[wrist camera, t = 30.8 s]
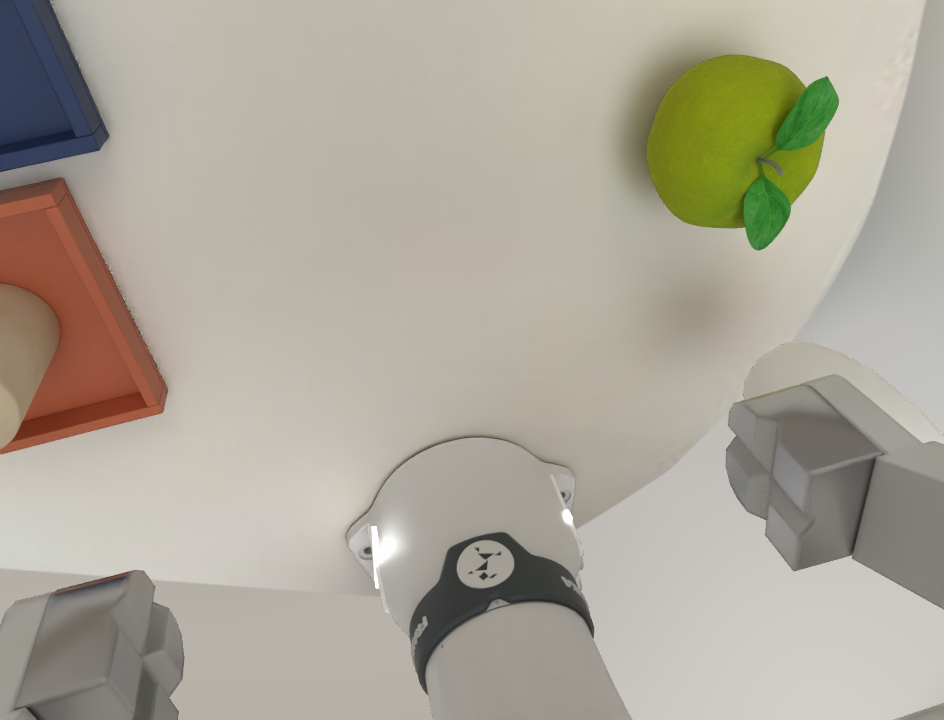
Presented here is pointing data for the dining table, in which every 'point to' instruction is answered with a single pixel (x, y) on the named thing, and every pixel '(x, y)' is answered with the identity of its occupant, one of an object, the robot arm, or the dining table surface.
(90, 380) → the terracotta tray
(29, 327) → the candle
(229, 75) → the dining table surface
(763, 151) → the fruit
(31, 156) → the navy tray
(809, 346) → the cup
